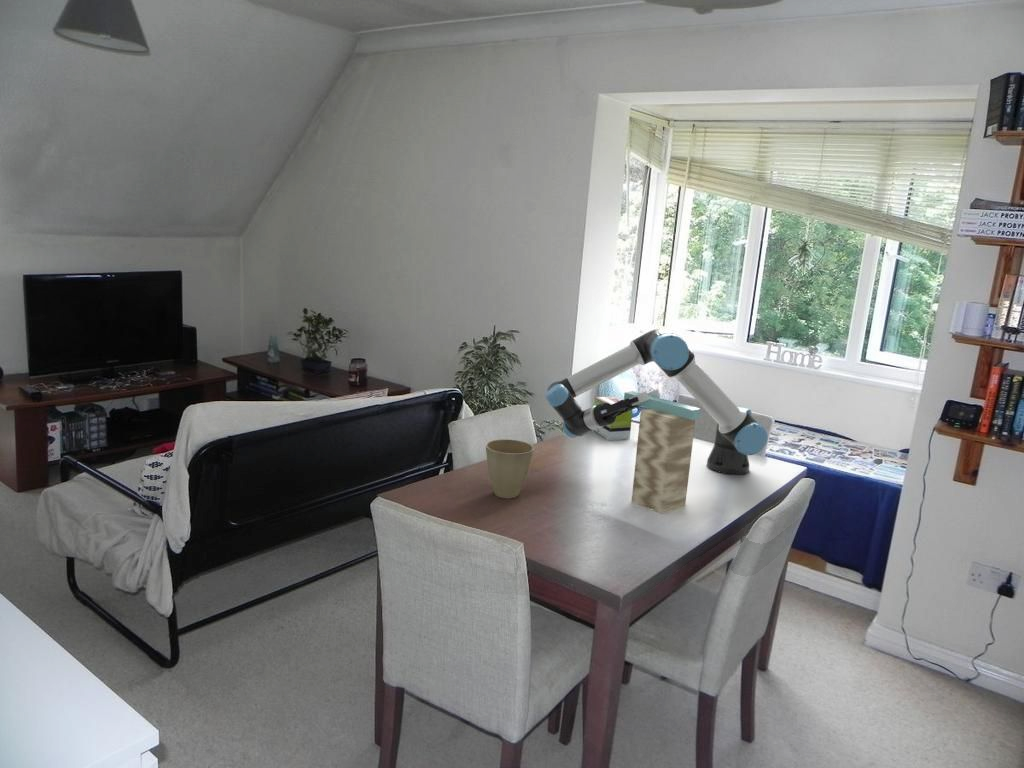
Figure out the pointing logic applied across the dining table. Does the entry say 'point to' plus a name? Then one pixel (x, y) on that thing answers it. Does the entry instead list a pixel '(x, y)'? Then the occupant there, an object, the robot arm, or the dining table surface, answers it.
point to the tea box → (615, 422)
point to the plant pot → (508, 465)
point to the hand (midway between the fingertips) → (652, 394)
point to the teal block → (667, 406)
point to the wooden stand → (662, 460)
